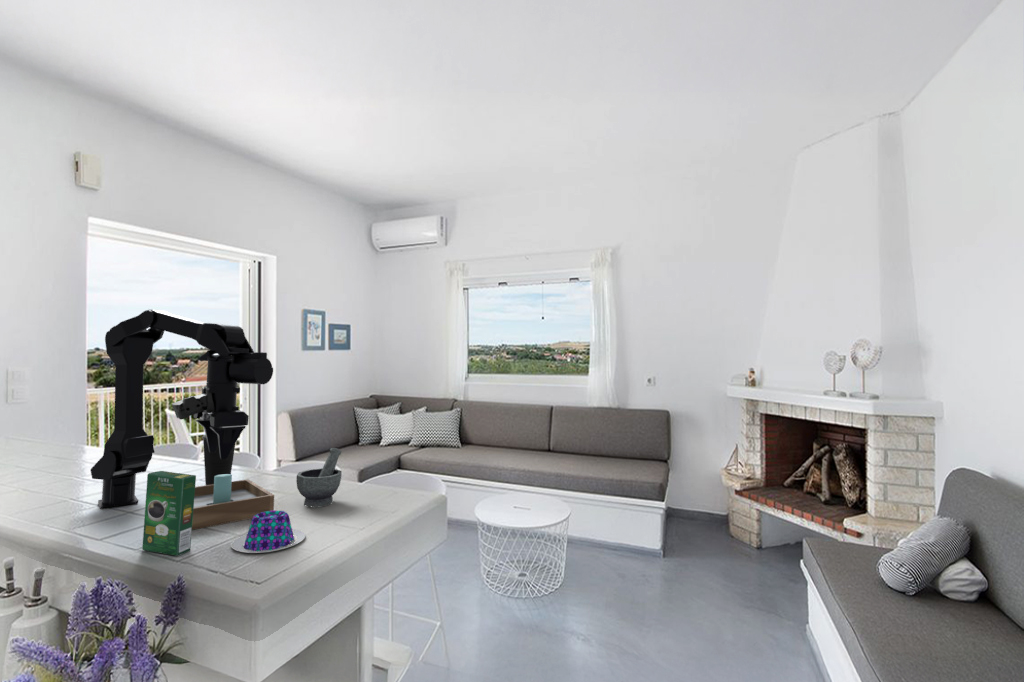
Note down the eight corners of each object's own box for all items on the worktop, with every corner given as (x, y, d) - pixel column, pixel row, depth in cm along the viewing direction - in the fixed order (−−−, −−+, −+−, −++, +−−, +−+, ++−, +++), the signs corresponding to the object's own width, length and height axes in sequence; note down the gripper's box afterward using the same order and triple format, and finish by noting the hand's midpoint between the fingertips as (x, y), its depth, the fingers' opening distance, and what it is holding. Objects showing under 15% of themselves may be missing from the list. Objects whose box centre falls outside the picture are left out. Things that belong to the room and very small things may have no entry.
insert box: (166, 509, 103) (167, 490, 104) (247, 496, 115) (248, 479, 115) (184, 531, 91) (185, 510, 91) (273, 514, 102) (274, 495, 102)
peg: (210, 513, 101) (212, 475, 101) (227, 510, 103) (229, 473, 104) (214, 517, 99) (216, 478, 99) (232, 514, 101) (233, 476, 101)
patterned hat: (309, 530, 94) (310, 502, 94) (299, 553, 82) (301, 522, 82) (241, 534, 90) (242, 506, 91) (221, 560, 79) (222, 528, 79)
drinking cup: (223, 495, 115) (227, 411, 116) (191, 494, 115) (196, 411, 116) (241, 486, 123) (245, 408, 124) (212, 486, 123) (216, 408, 124)
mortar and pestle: (318, 511, 104) (320, 456, 104) (286, 506, 107) (288, 452, 108) (353, 498, 114) (355, 448, 115) (322, 493, 118) (324, 444, 118)
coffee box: (193, 550, 82) (197, 473, 82) (177, 557, 79) (182, 477, 79) (157, 545, 84) (161, 469, 84) (140, 551, 81) (145, 473, 82)
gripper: (168, 380, 104) (163, 452, 103) (187, 385, 91) (181, 468, 90) (226, 380, 112) (222, 447, 111) (251, 384, 98) (246, 461, 98)
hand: (217, 455), depth 102 cm, fingers open, 9 cm apart
